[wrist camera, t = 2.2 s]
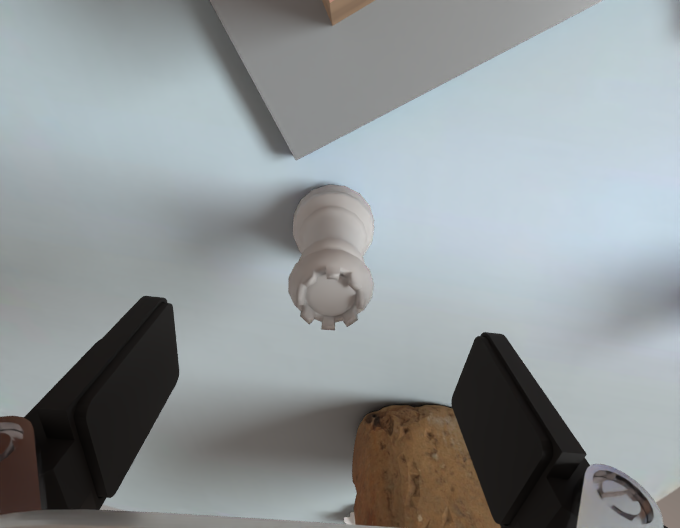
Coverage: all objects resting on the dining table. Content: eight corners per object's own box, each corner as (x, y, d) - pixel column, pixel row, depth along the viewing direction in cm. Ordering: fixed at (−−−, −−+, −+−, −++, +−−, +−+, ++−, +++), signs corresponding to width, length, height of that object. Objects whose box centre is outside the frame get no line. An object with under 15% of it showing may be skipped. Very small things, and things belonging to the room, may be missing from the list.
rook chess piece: (278, 206, 19) (241, 281, 12) (349, 166, 18) (356, 221, 11) (319, 268, 21) (309, 365, 14) (386, 235, 20) (413, 321, 13)
